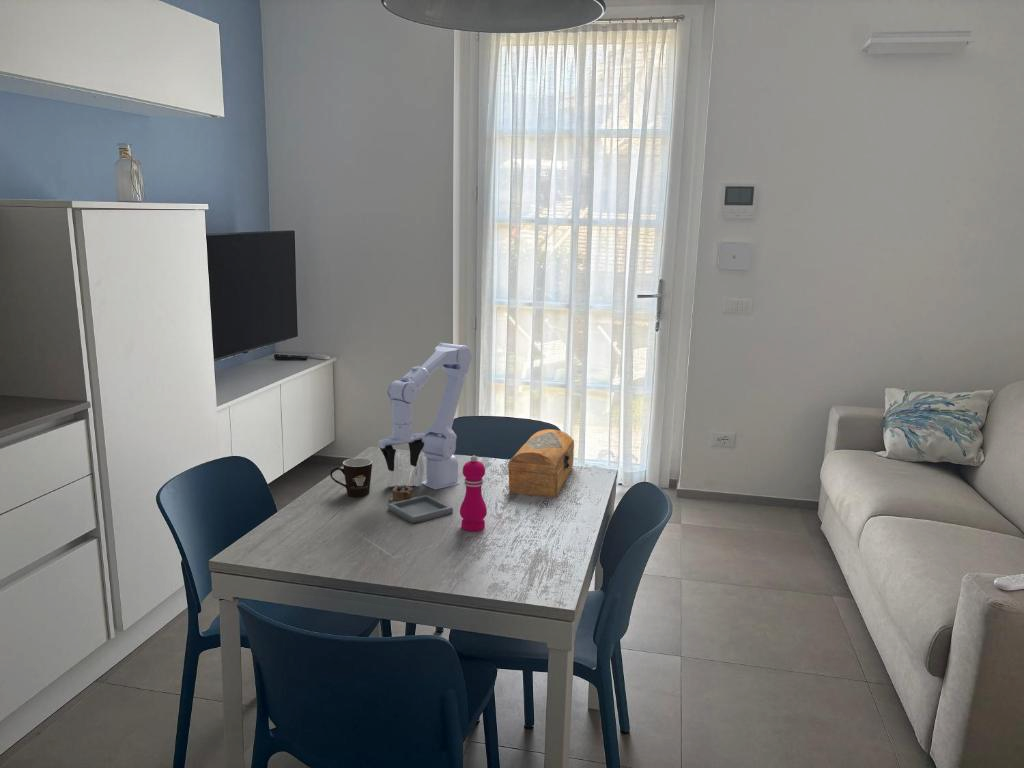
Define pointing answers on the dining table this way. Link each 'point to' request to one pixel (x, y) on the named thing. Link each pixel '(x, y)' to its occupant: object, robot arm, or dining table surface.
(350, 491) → the coffee mug
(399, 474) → the salt and pepper shakers
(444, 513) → the tray
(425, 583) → the dining table surface
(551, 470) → the wooden box
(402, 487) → the grey round piece
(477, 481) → the pepper mill
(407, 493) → the ring
